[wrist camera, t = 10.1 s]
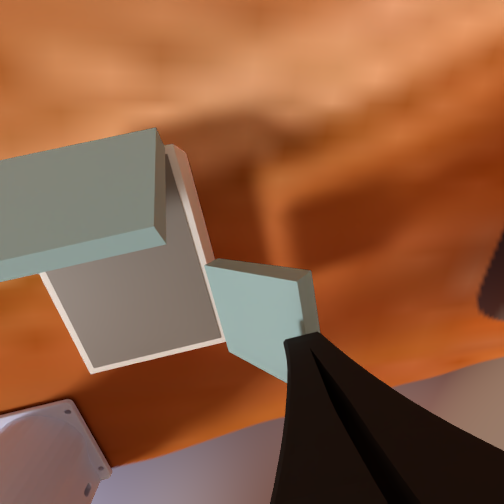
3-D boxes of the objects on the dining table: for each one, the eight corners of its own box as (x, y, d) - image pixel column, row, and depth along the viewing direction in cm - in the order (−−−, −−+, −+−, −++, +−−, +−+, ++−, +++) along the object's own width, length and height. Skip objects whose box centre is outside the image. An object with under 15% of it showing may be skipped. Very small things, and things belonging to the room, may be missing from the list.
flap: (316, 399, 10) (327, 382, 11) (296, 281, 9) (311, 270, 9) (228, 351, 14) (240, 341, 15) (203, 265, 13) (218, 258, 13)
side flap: (166, 244, 8) (153, 226, 8) (-78, 299, 8) (-120, 287, 7) (165, 147, 12) (155, 127, 11) (-12, 185, 11) (-36, 167, 10)
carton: (228, 309, 19) (228, 341, 16) (118, 335, 19) (90, 374, 15) (186, 152, 16) (172, 143, 12) (49, 182, 16) (-9, 182, 12)
